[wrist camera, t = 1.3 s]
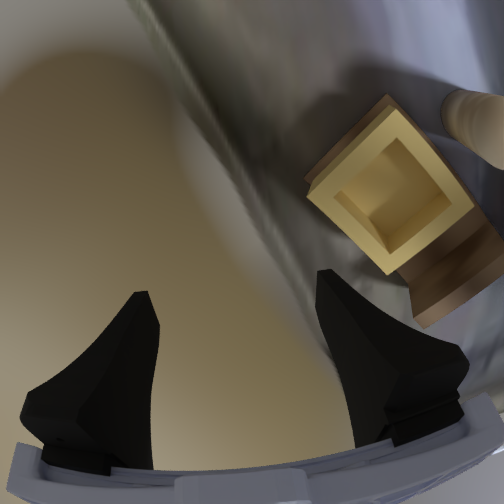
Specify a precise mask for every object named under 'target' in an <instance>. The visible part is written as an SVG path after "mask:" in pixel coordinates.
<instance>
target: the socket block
mask: <svg viewBox="0 0 504 504" xmlns="http://www.w3.org/2000/svg"><path fill="white" fill-rule="evenodd" d="M307 198H308V199H310V200H311V201H312V202H313V203H314V204H315V205H316V206H317V207H318V208H319V209H320V210H321V211H323V212H324V213H325V214H326V215H327V216H328V217H329V218H330V219H331V220H332V221H333V222H334V223H335V224H336V225H337V226H338V227H339V228H340V229H341V230H342V231H344V232H345V233H346V234H347V235H348V236H349V237H350V238H351V239H352V240H353V241H354V242H355V243H356V244H357V245H358V246H359V247H360V248H361V249H362V250H363V251H364V252H365V253H366V254H367V255H368V256H369V257H370V258H371V259H372V260H373V261H374V262H375V263H376V264H377V265H378V266H379V267H380V269H381V270H382V271H383V272H384V273H385V274H386V275H389V274H390V273H391V272H393V271H394V270H396V269H397V268H398V267H400V266H401V265H402V264H404V263H405V262H406V261H408V260H409V259H410V258H412V257H413V256H414V255H415V254H417V253H418V252H419V251H421V250H422V249H423V248H425V247H426V246H427V245H428V244H430V243H431V242H432V241H433V240H435V239H436V238H437V237H438V236H440V235H441V234H442V233H443V232H445V231H446V230H447V229H448V228H449V227H451V226H452V225H453V224H454V223H455V222H457V221H458V220H459V219H460V218H461V217H463V216H464V215H465V214H466V213H467V212H468V211H470V210H471V209H472V208H473V207H474V204H473V203H472V201H471V200H470V198H469V197H468V195H467V194H466V193H465V191H464V190H463V188H462V187H461V185H460V184H459V183H458V181H457V180H456V179H455V177H454V176H453V175H452V173H451V172H450V171H449V169H448V168H447V167H446V166H445V164H444V163H443V162H442V160H441V159H440V158H439V157H438V155H437V154H436V153H435V152H434V151H433V149H432V148H431V147H430V146H429V145H428V143H427V142H426V141H425V140H424V139H423V138H422V136H421V135H420V134H419V133H418V132H417V131H416V130H415V129H414V127H413V126H412V125H411V124H410V123H409V122H408V121H407V120H406V119H405V118H404V117H403V115H402V114H401V113H400V112H399V111H398V110H397V109H396V108H394V107H392V106H391V105H388V106H387V107H386V108H385V109H384V110H383V111H382V112H381V113H380V114H379V115H378V116H377V117H376V118H375V119H374V120H373V121H372V122H371V123H370V124H369V125H368V126H367V127H366V128H365V129H364V130H363V131H362V132H361V133H360V134H359V135H358V136H357V137H356V138H355V139H354V140H353V141H352V142H351V143H350V144H349V145H348V146H347V147H346V148H345V149H344V150H343V151H342V152H341V153H340V154H339V155H338V156H337V157H336V158H335V159H334V160H333V161H332V162H331V163H330V164H329V165H328V166H327V167H326V168H325V169H324V170H323V171H322V172H321V173H320V174H319V175H318V176H317V177H316V178H315V179H314V180H313V182H312V184H311V187H310V189H309V192H308V194H307Z"/></svg>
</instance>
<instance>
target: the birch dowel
mask: <svg viewBox="0 0 504 504" xmlns="http://www.w3.org/2000/svg"><path fill="white" fill-rule="evenodd" d="M441 119H442V123H443V126H444V128H445V130H446V131H447V132H448V134H449V135H450V136H451V137H452V138H454V139H455V140H457V141H458V142H460V143H461V144H463V145H464V146H466V147H467V148H469V149H470V150H472V151H473V152H474V153H476V154H477V155H479V156H480V157H482V158H483V159H484V160H486V161H487V162H488V163H490V164H491V165H492V166H494V167H496V168H498V169H501V170H504V96H499V95H494V94H488V93H482V92H476V91H469V90H456V91H453V92H451V93H450V94H449V95H447V97H446V98H445V99H444V101H443V103H442V107H441Z"/></svg>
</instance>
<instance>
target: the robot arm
mask: <svg viewBox="0 0 504 504" xmlns="http://www.w3.org/2000/svg"><path fill="white" fill-rule="evenodd" d="M315 308H316V312H317V316H318V320H319V323H320V327H321V329H322V332H323V334H324V337H325V339H326V342H327V344H328V347H329V349H330V351H331V354H332V356H333V359H334V361H335V364H336V366H337V369H338V372H339V375H340V378H341V382H342V386H343V390H344V394H345V398H346V402H347V406H348V410H349V415H350V420H351V425H352V430H353V436H354V442H355V448H356V449H352V450H348V451H344V452H340V453H336V454H331V455H327V456H322V457H317V458H312V459H307V460H302V461H296V462H290V463H283V464H277V465H269V466H261V467H252V468H241V469H228V470H208V471H161V470H154V469H153V460H152V449H151V424H150V411H151V391H152V383H153V377H154V371H155V366H156V360H157V354H158V347H159V335H160V324H159V321H158V319H157V316H156V313H155V311H154V308H153V305H152V302H151V300H150V297H149V294H148V291H140V292H134V293H133V294H132V296H131V297H130V298H129V299H128V301H127V302H126V304H125V305H124V306H123V307H122V309H121V310H120V311H119V312H118V314H117V315H116V316H115V317H114V319H113V320H112V321H111V323H110V324H109V325H108V326H107V327H106V328H105V330H104V331H103V332H102V333H101V334H100V336H99V337H98V338H97V339H96V340H95V341H94V342H93V343H92V344H91V345H90V346H89V347H88V348H87V349H86V350H85V351H84V352H83V353H82V354H81V355H80V356H79V357H78V358H77V359H76V360H75V361H73V362H72V363H71V364H70V365H68V366H67V367H66V368H65V369H64V370H62V371H61V372H60V373H58V374H57V375H55V376H54V377H53V378H51V379H50V380H48V381H47V382H45V383H43V384H42V385H40V386H38V387H36V388H35V389H33V390H31V391H29V392H28V394H27V396H26V399H25V402H24V405H23V408H22V411H21V414H20V420H21V423H22V424H23V426H24V427H26V429H27V430H29V431H30V432H31V433H32V434H33V435H34V436H35V437H37V438H38V439H39V440H40V441H41V442H43V443H44V446H43V450H42V449H40V448H38V447H35V446H32V445H28V444H24V443H20V442H17V444H16V448H15V452H14V456H13V460H12V464H11V468H10V473H9V477H8V482H7V488H6V490H7V491H8V492H10V493H12V494H13V495H15V496H17V497H19V498H21V499H23V500H25V501H26V502H28V503H30V504H398V503H400V502H403V501H405V500H408V499H410V498H412V497H415V496H417V495H419V494H421V493H423V492H426V491H428V490H430V489H432V488H434V487H436V486H438V485H440V484H442V483H444V482H446V481H448V480H450V479H452V478H454V477H455V476H457V475H459V474H461V473H463V472H464V471H466V470H468V469H470V468H472V467H473V466H475V465H477V464H478V463H480V462H482V461H483V460H484V459H485V458H487V457H488V456H489V455H491V454H492V453H493V452H494V451H495V450H497V449H498V448H499V447H500V446H501V445H503V443H504V423H503V421H502V419H501V417H500V415H499V413H498V411H497V409H496V408H495V406H494V404H493V402H492V400H491V399H490V397H489V395H488V393H487V392H483V393H481V394H479V395H477V396H475V397H473V398H471V399H469V400H467V401H465V402H464V403H463V404H461V405H460V404H459V402H458V400H457V399H459V398H460V395H459V393H458V391H457V388H458V387H459V385H460V384H461V382H462V381H463V379H464V378H465V376H466V374H467V372H468V370H469V366H470V364H469V361H468V360H467V358H466V356H465V355H464V353H463V352H462V350H461V349H460V347H459V346H458V345H456V344H453V343H449V342H446V341H443V340H439V339H437V338H434V337H431V336H429V335H426V334H424V333H422V332H419V331H417V330H415V329H413V328H411V327H409V326H407V325H405V324H403V323H401V322H399V321H398V320H396V319H394V318H393V317H391V316H389V315H388V314H386V313H385V312H383V311H382V310H380V309H379V308H377V307H376V306H375V305H373V304H372V303H371V302H369V301H368V300H367V299H365V298H364V297H363V296H362V295H360V294H359V293H358V292H357V291H356V290H354V289H353V288H352V287H351V286H350V285H349V284H348V283H346V282H345V281H344V280H343V279H342V278H341V277H340V276H339V275H337V274H336V273H335V272H334V271H333V270H332V269H327V270H320V271H317V286H316V303H315Z"/></svg>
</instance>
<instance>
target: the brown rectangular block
mask: <svg viewBox="0 0 504 504" xmlns="http://www.w3.org/2000/svg"><path fill="white" fill-rule="evenodd" d="M388 105H391V106H392V107H394V108H396V109H397V110H398V111H399V112H400V113H401V114H402V115H403V117H404V118H405V119H406V120H407V121H408V122H409V123H410V124H411V125H412V126H413V127H414V129H415V130H416V131H417V132H418V133H419V134H420V135H421V136H422V138H423V139H424V140H425V141H426V142H427V143H428V145H429V146H430V147H431V148H432V149H433V151H434V152H435V153H436V154H437V155H438V157H439V158H440V159H441V160H442V162H443V163H444V164H445V166H446V167H447V168H448V169H449V171H450V172H451V173H452V175H453V176H454V177H455V179H456V180H457V181H458V183H459V184H460V185H461V187H462V188H463V190H464V191H465V193H466V194H467V195H468V197H469V198H470V200H471V201H472V203H473V204H474V207H473V208H472V209H471V210H470V211H468V212H467V213H466V214H465V215H464V216H463V217H461V218H460V219H459V220H458V221H457V222H455V223H454V224H453V225H452V226H451V227H449V228H448V229H447V230H446V231H445V232H443V233H442V234H441V235H440V236H438V237H437V238H436V239H435V240H433V241H432V242H431V243H430V244H428V245H427V246H426V247H425V248H423V249H422V250H421V251H419V252H418V253H417V254H415V255H414V256H413V257H412V258H410V259H409V260H408V261H406V262H405V263H404V264H402V265H401V266H400V267H398V268H397V269H396V271H397V272H398V273H399V274H400V275H401V276H402V277H403V279H404V280H405V281H406V282H407V283H408V287H409V293H410V299H411V306H412V313H413V319H414V320H415V321H416V322H417V323H418V324H419V325H420V326H421V327H422V328H423V329H425V328H427V327H428V326H430V325H432V324H433V323H435V322H436V321H438V320H439V319H441V318H443V317H444V316H446V315H447V314H449V313H450V312H452V311H453V310H455V309H456V308H458V307H459V306H461V305H462V304H464V303H465V302H466V301H468V300H469V299H471V298H472V297H473V296H475V295H476V294H478V293H479V292H480V291H482V290H483V289H484V288H486V287H487V286H489V285H490V284H491V283H492V282H494V281H495V280H496V279H498V278H499V277H500V276H502V275H503V274H504V241H503V239H502V238H501V237H500V235H499V234H498V232H497V231H496V230H495V228H494V227H493V226H492V224H491V223H490V222H489V220H488V219H487V217H486V215H485V214H484V212H483V211H482V209H481V208H480V206H479V205H478V203H477V201H476V200H475V199H474V197H473V196H472V194H471V193H470V191H469V190H468V188H467V187H466V185H465V184H464V183H463V181H462V180H461V178H460V177H459V176H458V174H457V173H456V172H455V170H454V169H453V168H452V166H451V165H450V164H449V162H448V161H447V160H446V159H445V157H444V156H443V155H442V154H441V152H440V151H439V150H438V149H437V147H436V146H435V145H434V144H433V143H432V141H431V140H430V139H429V138H428V137H427V136H426V134H425V133H424V132H423V131H422V130H421V129H420V127H419V126H418V125H417V124H416V123H415V122H414V121H413V120H412V119H411V118H410V116H409V115H408V114H407V113H406V112H405V111H404V110H403V109H402V108H401V107H400V106H399V105H398V104H397V103H396V102H395V101H394V100H393V99H392V98H391V97H390V96H389V95H388V94H387V93H386V94H385V95H384V96H383V97H382V98H381V99H380V100H379V101H378V102H377V103H376V104H375V105H374V106H373V107H372V108H371V109H370V110H369V111H368V112H367V113H366V114H365V115H364V116H363V117H362V118H361V119H360V120H359V121H358V122H357V123H356V124H355V125H354V126H353V127H352V128H351V129H350V130H349V131H348V132H347V133H346V134H345V135H344V136H343V137H342V138H341V139H340V140H339V141H338V142H337V143H336V144H335V145H334V146H333V147H332V148H331V149H330V150H329V151H328V152H327V153H326V155H325V156H324V157H323V158H322V159H321V160H320V161H319V162H318V163H317V164H316V165H315V166H314V167H313V168H312V169H311V170H310V171H309V172H308V173H307V174H306V175H305V176H304V178H303V179H304V180H305V181H306V182H307V183H308V184H309V185H311V184H312V182H313V180H314V179H315V178H316V177H317V176H318V175H319V174H320V173H321V172H322V171H323V170H324V169H325V168H326V167H327V166H328V165H329V164H330V163H331V162H332V161H333V160H334V159H335V158H336V157H337V156H338V155H339V154H340V153H341V152H342V151H343V150H344V149H345V148H346V147H347V146H348V145H349V144H350V143H351V142H352V141H353V140H354V139H355V138H356V137H357V136H358V135H359V134H360V133H361V132H362V131H363V130H364V129H365V128H366V127H367V126H368V125H369V124H370V123H371V122H372V121H373V120H374V119H375V118H376V117H377V116H378V115H379V114H380V113H381V112H382V111H383V110H384V109H385V108H386V107H387V106H388Z"/></svg>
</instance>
